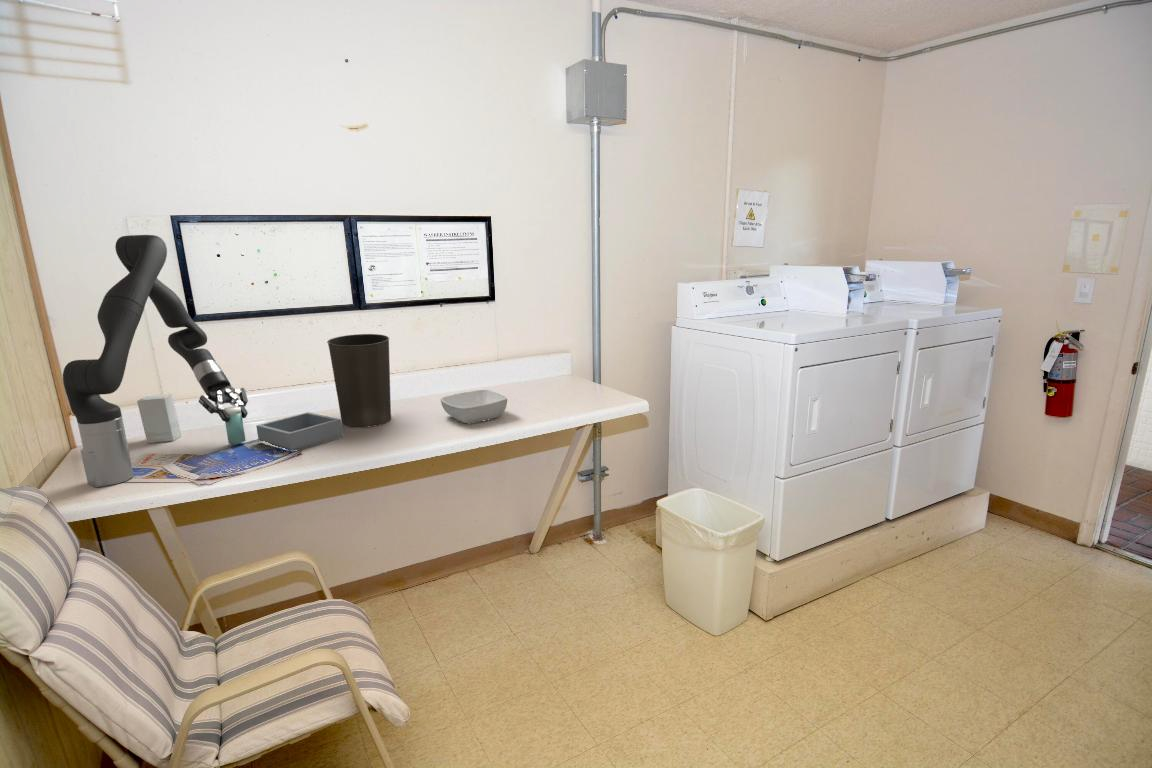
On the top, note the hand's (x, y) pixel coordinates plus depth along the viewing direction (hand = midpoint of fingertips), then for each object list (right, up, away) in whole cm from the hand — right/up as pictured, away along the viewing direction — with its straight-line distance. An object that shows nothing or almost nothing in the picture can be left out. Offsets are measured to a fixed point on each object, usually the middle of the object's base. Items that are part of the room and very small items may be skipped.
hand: (236, 418), depth 182 cm
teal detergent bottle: (-1, -8, +3) cm, 8 cm away
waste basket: (+32, -3, +26) cm, 41 cm away
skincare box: (-30, -8, +9) cm, 32 cm away
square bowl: (+70, -2, +29) cm, 76 cm away
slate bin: (+17, -7, +6) cm, 20 cm away
